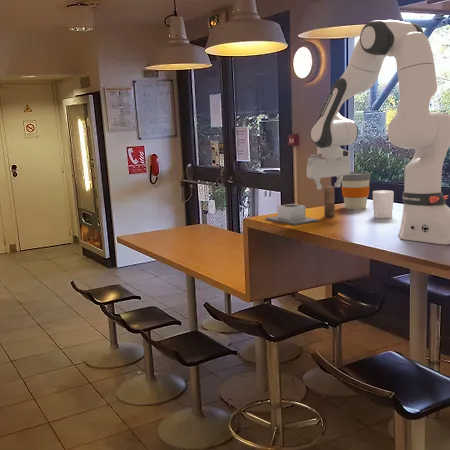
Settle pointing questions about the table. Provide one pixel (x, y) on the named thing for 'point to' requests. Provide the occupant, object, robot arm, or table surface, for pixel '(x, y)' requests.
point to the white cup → (383, 203)
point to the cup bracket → (292, 215)
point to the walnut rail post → (329, 202)
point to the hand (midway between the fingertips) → (328, 188)
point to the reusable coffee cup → (355, 189)
